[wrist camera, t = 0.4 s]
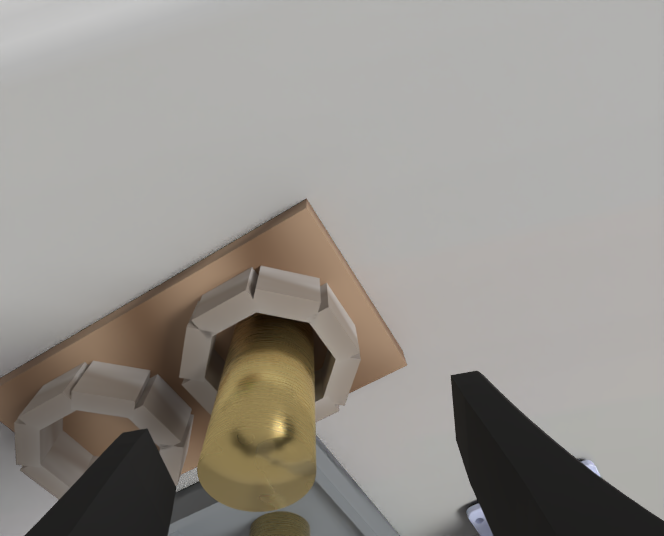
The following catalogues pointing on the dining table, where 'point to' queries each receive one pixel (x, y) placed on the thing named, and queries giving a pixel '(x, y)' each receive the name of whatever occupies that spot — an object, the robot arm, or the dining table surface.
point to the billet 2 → (280, 525)
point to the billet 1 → (263, 418)
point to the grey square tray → (287, 508)
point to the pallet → (172, 316)
